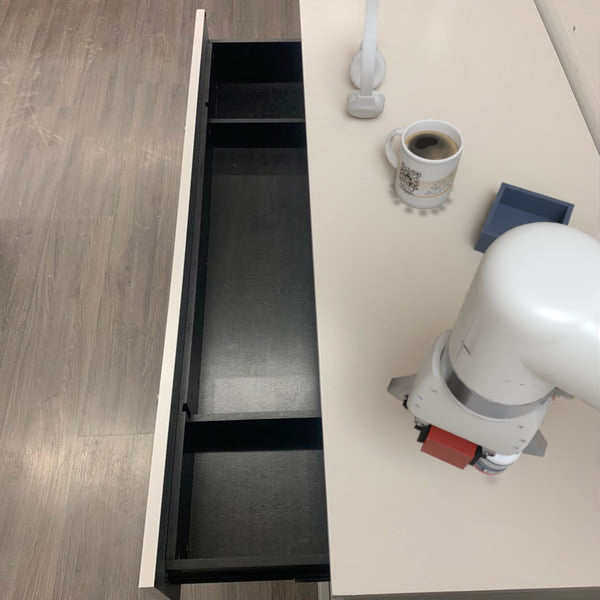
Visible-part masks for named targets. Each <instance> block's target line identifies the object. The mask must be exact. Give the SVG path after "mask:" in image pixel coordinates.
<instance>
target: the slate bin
mask: <svg viewBox="0 0 600 600" xmlns="http://www.w3.org/2000/svg"><path fill="white" fill-rule="evenodd" d="M574 209H575V204H574V203H571V202H568V201H564V200H562V199H559V198H555V197H552V196H549V195H546V194H543V193H539V192H536V191H532V190H529V189H527V188H523V187H521V186H520V187H519V186H517V185H514V184H511V183H507V182H504V181H502V182H501V184H500V187H499V189H498V191H497V193H496V196H495V198H494V200H493V203H492V205H491V207H490V209H489V212H488V214H487V216H486V219H485V222H484V223H483V226H482V228H481V231H480V233H479V235H478V238H477V241H476V243H475V246H474V250H473V251H477V252H479V253H482V254H484V253H485V252H486V250H487V249H488V247H489V246H490V245H491V244H492V243H493V242H494V241H495V240H496V239H497V238H498V237H500V236H501V235H502V234H504V233H505V232H507V231H509V230H511V229H513V228H515V227H518V226H521V225H524V224H530V223H536V222H551V223H559V224H564V225H568V226H569V224H570V220H571V217H572V214H573V211H574Z"/></svg>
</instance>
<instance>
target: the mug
mask: <svg viewBox="0 0 600 600" xmlns="http://www.w3.org/2000/svg"><path fill="white" fill-rule="evenodd" d="M395 136H401V138H400V145H399V150H398V156H397V155H396V153H395V150H394V145H393V142H394V138H395ZM384 144H385V145H384V147H385V150H384V151H385V155H386V157H387V160H388V161H389V164H390V165H391V166H392V167H393V169H395V177H394V184H393V188H394V192H395V195H396V196H397V198H398V199H399V200H400V201H401V202H402V203H403V204H405V205H407V206H409V207H412V208H416V209H422V210H423V209H424V210H427V209H433V208H436V207H440V206H441V205H442V204H444V203H445V202H446V201H447V200H448V199H449V197H450V195H451V192H452V188H453V185H454V182H455V177H456V174H457V172H458V171H457V170H458V167H459V162H460V160H461V157H462V153H463V149H464V147H465V146H464V145H465V140H464V136H463V134H462V132H461V131H460V130H459V128H457V127H456V126H455V125H454V124H452V123H450V122H447V121H444V120H441V119H438V118H437V119H436V118H424V119H419V120H417V121H414V122H412V123H410V124H409V125H408V126H407V127H405V126H398V127H396V128H394V130H392V131H391V132H390V133H388V135H387V136H386V139H385V143H384Z"/></svg>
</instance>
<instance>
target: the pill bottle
mask: <svg viewBox="0 0 600 600" xmlns="http://www.w3.org/2000/svg"><path fill="white" fill-rule="evenodd" d="M522 454H523V453H522V452H519V453H518V454H515V455H504V454H501V453H498V452H496V455H495V457H490V456H487V457H486V458H485V459H483V458H480V459H479V460H478V461H477V462H476V463H475V464H474V465H473V466H472V467H473V468H474V469H475V470H476V471H478V472H479V473H481V474H483V475H485V476H498V475H500V474H502V473H503V472H505V471H506V470H507V469H508V468H509V467H510V466H511V465H513V464H514V463H515V462H517V461H518V460H519V458H520V457H521V456H522Z"/></svg>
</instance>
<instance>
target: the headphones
mask: <svg viewBox="0 0 600 600" xmlns="http://www.w3.org/2000/svg"><path fill="white" fill-rule="evenodd" d="M379 2H380V0H365V10H364V24H363V38H362V40H361V43H360V44H359V45H360V46H359V48H358V51H357V52H356V53H355V54H354V56H353V57H352V59H351V60H350V61H351V62H350V65H349V77H350V80H351V82H352V84H353V85H354V86H355V87H356V88H358V89H355V90H352V91H351V92H349V93H348V94H347V96H346V112H347V113H348V114H349V115H351V116H353V117H356V118H358V119H373V118H375V117H379V116H381V115H382V114H383V113H384V108H385V102H386V97H385V95H384V93H382V92H380V90H376V88H378V87H379V86H380V85H381V84H382V83H383V81H384V79H385V77H386V73H387V65H386V60H385V58H384V56H383V54H382V53H381V51H379V46H378V42H377V37H378V21H379V20H378V19H379V4H380V3H379Z"/></svg>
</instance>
